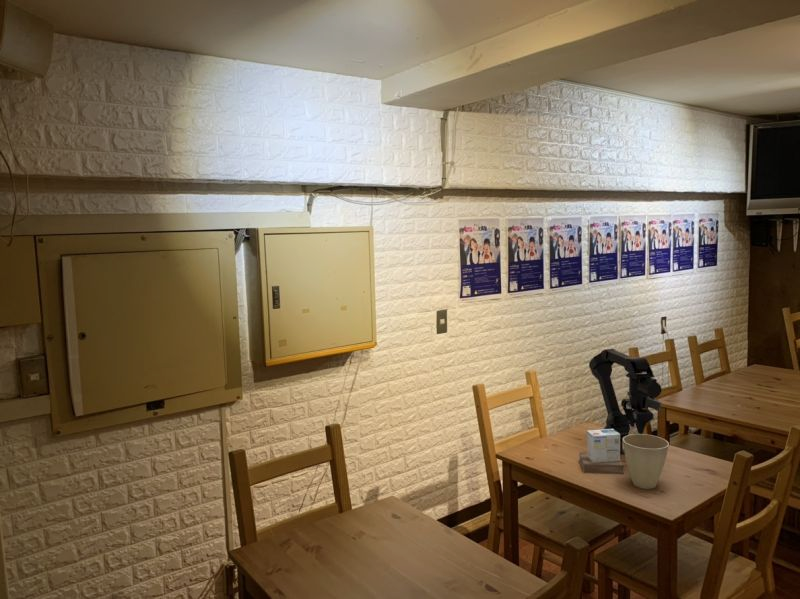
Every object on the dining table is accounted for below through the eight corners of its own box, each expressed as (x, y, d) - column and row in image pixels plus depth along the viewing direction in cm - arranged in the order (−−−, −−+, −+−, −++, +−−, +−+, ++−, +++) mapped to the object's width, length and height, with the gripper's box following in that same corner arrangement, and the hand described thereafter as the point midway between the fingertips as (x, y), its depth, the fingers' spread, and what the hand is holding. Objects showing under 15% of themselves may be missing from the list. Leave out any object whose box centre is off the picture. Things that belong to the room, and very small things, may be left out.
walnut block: (579, 462, 236) (579, 452, 236) (616, 463, 234) (616, 453, 234) (584, 474, 225) (584, 464, 224) (623, 475, 222) (623, 465, 222)
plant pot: (638, 496, 204) (639, 450, 202) (614, 478, 218) (614, 436, 217) (677, 490, 207) (678, 446, 205) (650, 474, 221) (651, 432, 220)
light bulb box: (613, 455, 232) (613, 428, 231) (620, 461, 225) (621, 433, 224) (586, 456, 231) (586, 429, 230) (593, 463, 225) (593, 435, 223)
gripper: (668, 397, 218) (667, 439, 220) (649, 384, 237) (649, 422, 239) (637, 397, 219) (636, 439, 221) (621, 384, 237) (620, 423, 239)
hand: (636, 430), depth 230 cm, fingers open, 9 cm apart
